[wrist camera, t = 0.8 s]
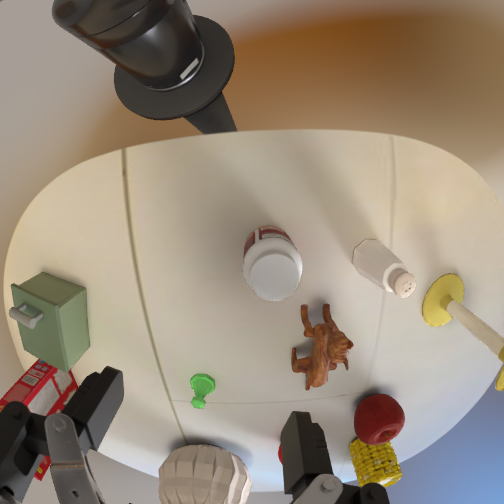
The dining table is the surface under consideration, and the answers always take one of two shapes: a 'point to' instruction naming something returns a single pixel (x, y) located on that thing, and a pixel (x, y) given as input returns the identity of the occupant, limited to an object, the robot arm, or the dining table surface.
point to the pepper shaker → (383, 268)
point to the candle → (460, 316)
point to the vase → (203, 477)
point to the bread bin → (65, 311)
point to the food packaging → (42, 395)
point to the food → (375, 463)
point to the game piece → (201, 389)
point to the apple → (378, 419)
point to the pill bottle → (271, 264)
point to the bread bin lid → (39, 327)
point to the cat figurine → (321, 349)
